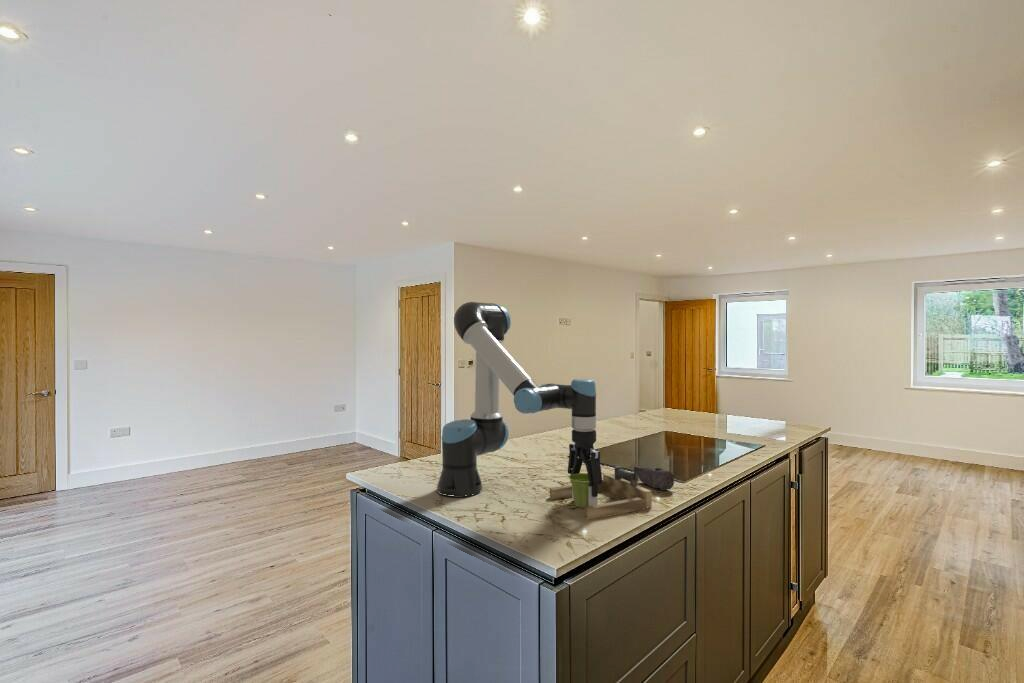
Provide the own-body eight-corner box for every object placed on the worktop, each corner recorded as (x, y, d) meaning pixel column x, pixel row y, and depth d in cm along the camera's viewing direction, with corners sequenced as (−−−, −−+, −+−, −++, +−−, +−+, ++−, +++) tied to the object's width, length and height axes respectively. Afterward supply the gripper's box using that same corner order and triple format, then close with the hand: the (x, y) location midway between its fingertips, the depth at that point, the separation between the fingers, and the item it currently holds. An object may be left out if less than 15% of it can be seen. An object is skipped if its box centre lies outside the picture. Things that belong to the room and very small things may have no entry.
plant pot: (581, 497, 157) (581, 471, 157) (605, 504, 151) (605, 477, 151) (563, 504, 151) (562, 477, 151) (587, 512, 144) (587, 483, 144)
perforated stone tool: (633, 482, 174) (633, 463, 174) (644, 480, 177) (644, 461, 177) (663, 494, 161) (663, 473, 161) (675, 491, 164) (675, 471, 164)
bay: (550, 497, 158) (549, 462, 158) (608, 487, 168) (608, 454, 168) (588, 519, 138) (588, 479, 138) (652, 507, 148) (652, 469, 148)
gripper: (614, 433, 143) (615, 511, 143) (575, 423, 162) (576, 491, 162) (593, 436, 140) (594, 515, 140) (556, 424, 159) (556, 494, 159)
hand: (584, 502), depth 151 cm, fingers closed on plant pot, 8 cm apart
